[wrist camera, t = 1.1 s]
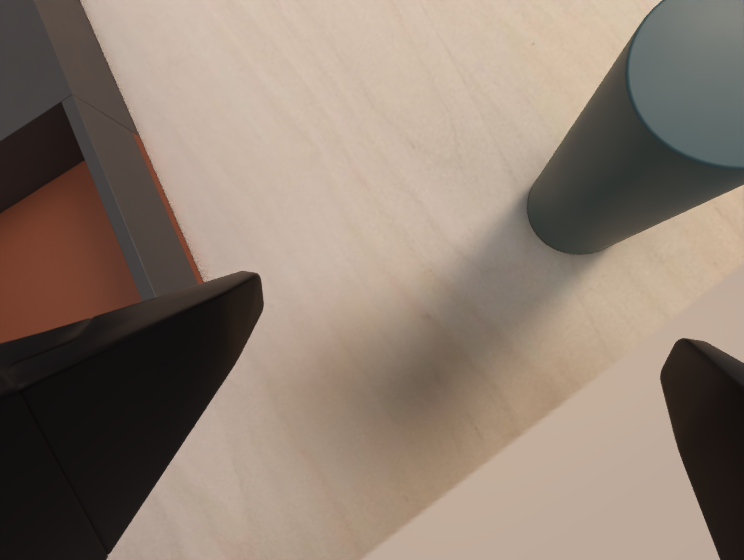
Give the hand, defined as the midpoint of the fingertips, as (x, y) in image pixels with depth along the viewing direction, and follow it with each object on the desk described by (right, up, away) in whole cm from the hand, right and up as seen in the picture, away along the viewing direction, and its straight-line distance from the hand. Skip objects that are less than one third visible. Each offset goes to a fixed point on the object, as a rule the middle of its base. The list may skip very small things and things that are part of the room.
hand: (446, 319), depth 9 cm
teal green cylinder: (+9, +5, +13) cm, 16 cm away
